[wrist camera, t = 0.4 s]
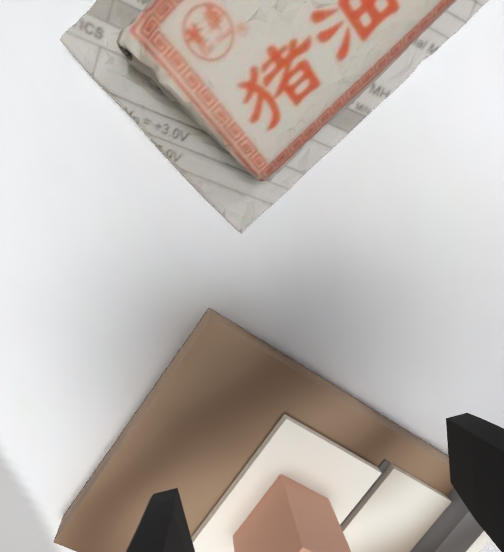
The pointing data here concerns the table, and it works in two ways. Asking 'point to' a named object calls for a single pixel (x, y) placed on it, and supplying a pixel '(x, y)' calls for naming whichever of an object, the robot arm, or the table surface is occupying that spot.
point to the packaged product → (255, 80)
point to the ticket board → (245, 442)
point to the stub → (289, 496)
